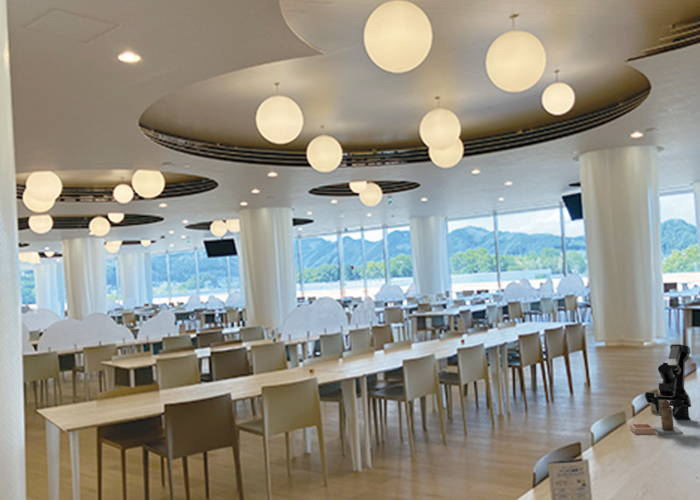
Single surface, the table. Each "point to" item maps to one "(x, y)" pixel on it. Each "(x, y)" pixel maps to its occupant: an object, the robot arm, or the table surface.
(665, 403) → the pepper mill
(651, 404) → the flower pot
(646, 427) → the pink square tray
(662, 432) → the plate
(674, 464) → the table surface
